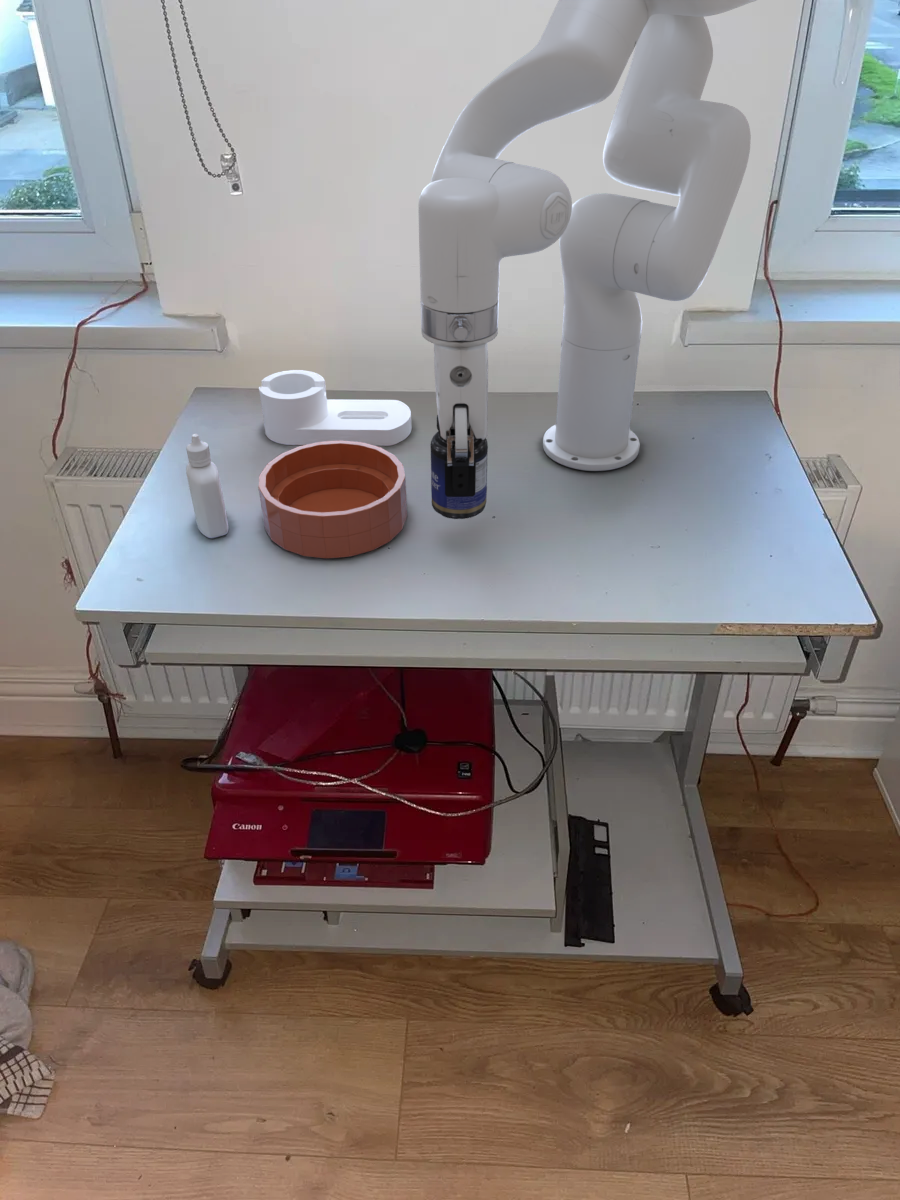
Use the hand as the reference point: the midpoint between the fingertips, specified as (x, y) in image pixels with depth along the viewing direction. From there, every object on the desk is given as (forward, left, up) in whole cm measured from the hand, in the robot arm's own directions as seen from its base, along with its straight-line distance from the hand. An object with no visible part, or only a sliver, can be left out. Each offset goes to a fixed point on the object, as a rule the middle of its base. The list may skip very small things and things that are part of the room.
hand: (459, 477), depth 103 cm
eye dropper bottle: (+11, -27, -9) cm, 30 cm away
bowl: (+3, -15, -8) cm, 18 cm away
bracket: (-16, -27, -9) cm, 33 cm away
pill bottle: (0, 0, -4) cm, 4 cm away
